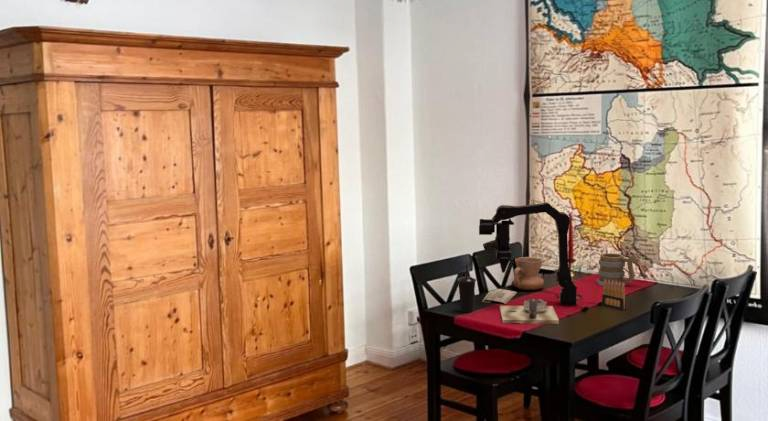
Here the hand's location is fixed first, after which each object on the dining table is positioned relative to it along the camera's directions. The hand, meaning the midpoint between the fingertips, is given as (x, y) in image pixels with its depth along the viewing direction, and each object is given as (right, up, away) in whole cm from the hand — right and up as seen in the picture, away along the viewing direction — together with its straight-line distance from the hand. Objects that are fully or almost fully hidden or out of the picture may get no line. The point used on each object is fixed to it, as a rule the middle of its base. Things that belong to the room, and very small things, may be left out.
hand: (502, 270), depth 345 cm
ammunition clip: (+46, -16, -8) cm, 49 cm away
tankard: (+60, -10, +32) cm, 68 cm away
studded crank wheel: (+10, -16, -21) cm, 28 cm away
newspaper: (-1, -14, +12) cm, 19 cm away
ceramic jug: (+16, -11, +27) cm, 34 cm away
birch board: (+8, -17, -20) cm, 27 cm away
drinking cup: (-17, -17, -10) cm, 26 cm away
